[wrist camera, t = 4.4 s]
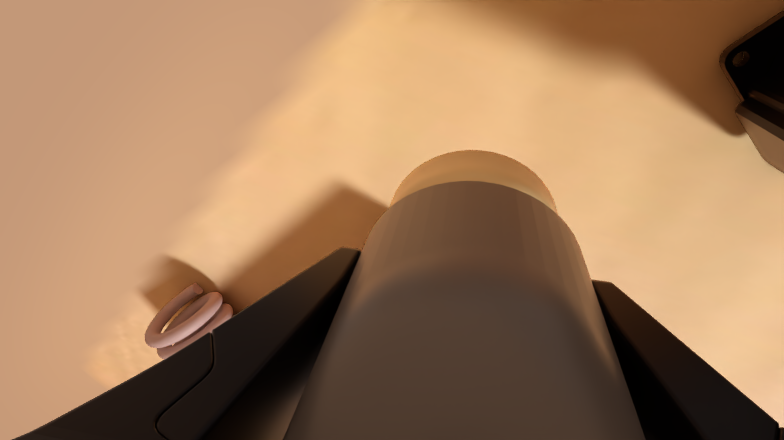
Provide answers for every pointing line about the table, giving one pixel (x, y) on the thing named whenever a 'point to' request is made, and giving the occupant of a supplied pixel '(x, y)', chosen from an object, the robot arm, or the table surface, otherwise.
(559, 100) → the table surface
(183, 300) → the coil
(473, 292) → the plug
